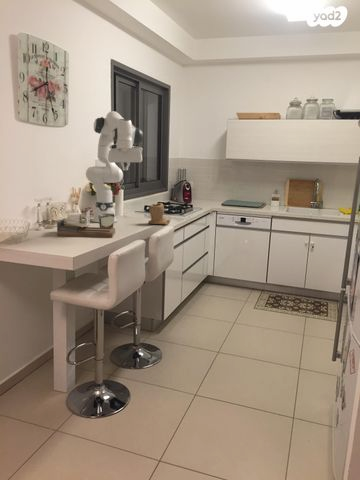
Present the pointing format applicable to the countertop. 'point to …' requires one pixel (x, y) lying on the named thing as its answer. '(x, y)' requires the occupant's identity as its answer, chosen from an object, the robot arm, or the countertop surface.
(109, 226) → the food container
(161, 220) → the stone cup
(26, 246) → the countertop surface
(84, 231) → the loading dock
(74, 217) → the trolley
